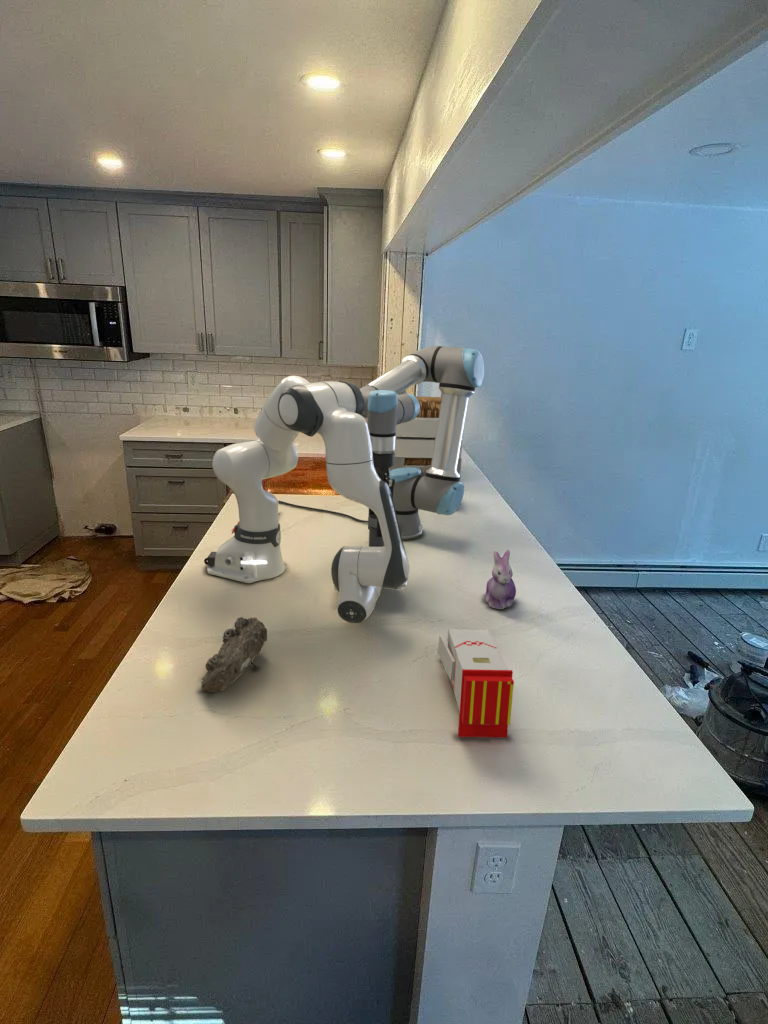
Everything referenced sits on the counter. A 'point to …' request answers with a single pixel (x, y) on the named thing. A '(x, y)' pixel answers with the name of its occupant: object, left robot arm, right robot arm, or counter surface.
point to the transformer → (419, 436)
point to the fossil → (234, 654)
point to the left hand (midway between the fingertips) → (376, 562)
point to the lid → (372, 520)
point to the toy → (478, 682)
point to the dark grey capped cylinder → (375, 538)
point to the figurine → (501, 583)
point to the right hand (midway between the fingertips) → (377, 532)
